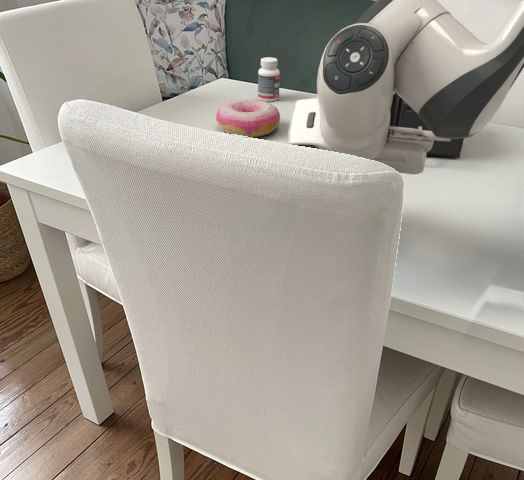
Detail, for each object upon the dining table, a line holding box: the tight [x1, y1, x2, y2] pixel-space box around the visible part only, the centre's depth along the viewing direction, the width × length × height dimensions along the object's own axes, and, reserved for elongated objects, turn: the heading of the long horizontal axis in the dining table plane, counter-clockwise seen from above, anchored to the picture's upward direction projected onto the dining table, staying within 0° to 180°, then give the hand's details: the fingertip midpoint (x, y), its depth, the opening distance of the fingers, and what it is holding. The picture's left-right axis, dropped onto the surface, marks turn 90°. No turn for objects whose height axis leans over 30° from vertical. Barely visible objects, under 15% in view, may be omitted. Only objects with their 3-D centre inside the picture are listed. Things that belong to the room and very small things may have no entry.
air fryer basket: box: [403, 108, 462, 155], centre depth 113 cm, size 18×11×8 cm, turn 170°
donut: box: [215, 98, 281, 138], centre depth 123 cm, size 14×13×5 cm
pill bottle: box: [257, 56, 281, 102], centre depth 138 cm, size 5×5×9 cm
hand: (355, 170), depth 89 cm, fingers open, 8 cm apart
